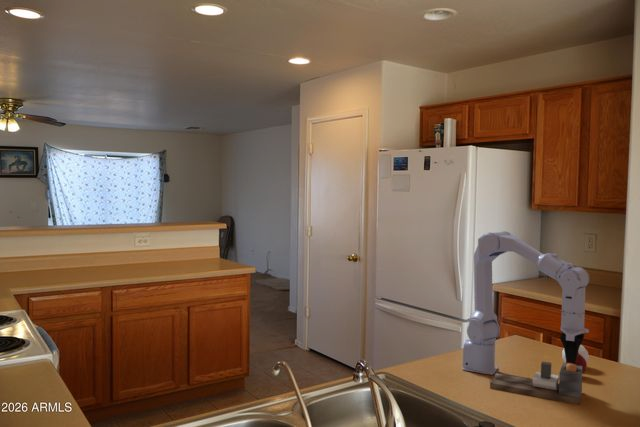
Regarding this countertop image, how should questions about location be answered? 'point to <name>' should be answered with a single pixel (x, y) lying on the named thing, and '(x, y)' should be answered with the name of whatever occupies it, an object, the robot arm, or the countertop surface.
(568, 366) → the brown egg
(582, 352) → the ball
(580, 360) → the onion
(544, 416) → the countertop surface
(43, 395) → the countertop surface
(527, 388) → the rail bed
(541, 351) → the countertop surface
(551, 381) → the carriage
